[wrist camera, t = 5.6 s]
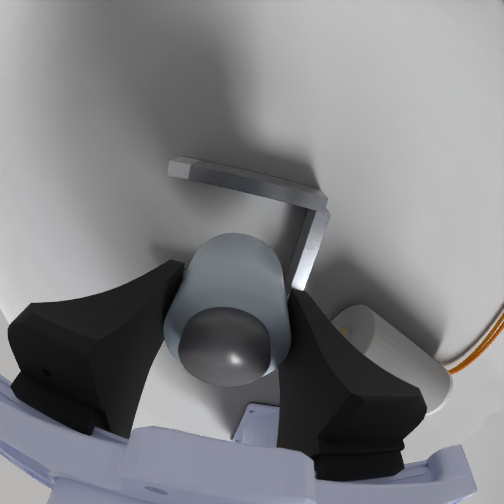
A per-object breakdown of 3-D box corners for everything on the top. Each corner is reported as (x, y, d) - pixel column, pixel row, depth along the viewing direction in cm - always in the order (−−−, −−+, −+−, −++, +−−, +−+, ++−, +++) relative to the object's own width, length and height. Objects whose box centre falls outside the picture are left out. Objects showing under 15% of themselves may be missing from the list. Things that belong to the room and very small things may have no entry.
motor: (417, 401, 24) (437, 431, 20) (255, 310, 19) (263, 356, 14) (535, 235, 20) (565, 248, 15) (439, 64, 15) (482, 51, 10)
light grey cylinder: (261, 325, 15) (261, 408, 10) (180, 297, 14) (148, 375, 9) (298, 253, 13) (318, 329, 8) (205, 219, 12) (172, 280, 8)
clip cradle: (288, 303, 20) (290, 322, 18) (164, 273, 19) (153, 290, 17) (326, 191, 17) (335, 200, 15) (180, 156, 16) (169, 160, 14)
